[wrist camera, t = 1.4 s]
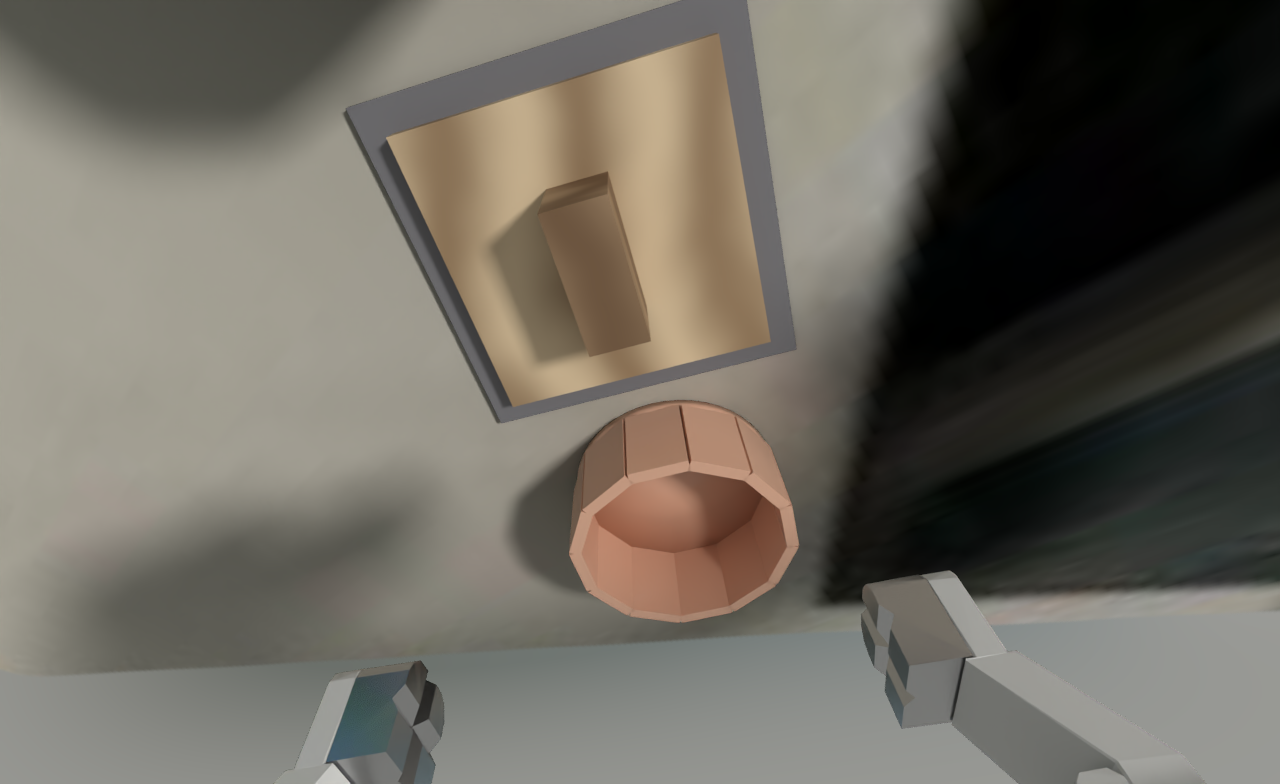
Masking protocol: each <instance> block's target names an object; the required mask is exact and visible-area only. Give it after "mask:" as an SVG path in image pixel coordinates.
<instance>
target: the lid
mask: <svg viewBox="0 0 1280 784" xmlns="http://www.w3.org/2000/svg"><path fill="white" fill-rule="evenodd" d="M386 139H387V141H388V143H389V145H390V147H391V149H392V151H393V154H394V156H395V158H396V160H397V162H398V164H399V166H400V168H401V171H402V173H403V175H404V177H405V179H406V181H407V183H408V185H409V188H410V190H411V192H412V194H413V196H414V198H415V200H416V202H417V204H418V207H419V209H420V211H421V213H422V215H423V217H424V219H425V221H426V224H427V226H428V228H429V230H430V232H431V234H432V236H433V238H434V240H435V243H436V245H437V247H438V249H439V251H440V253H441V255H442V257H443V260H444V262H445V264H446V266H447V268H448V270H449V272H450V274H451V277H452V279H453V281H454V283H455V285H456V287H457V289H458V291H459V293H460V296H461V298H462V300H463V302H464V304H465V306H466V308H467V310H468V313H469V315H470V317H471V319H472V321H473V323H474V325H475V327H476V329H477V332H478V334H479V336H480V338H481V340H482V342H483V344H484V346H485V349H486V351H487V353H488V355H489V357H490V359H491V361H492V363H493V366H494V368H495V370H496V372H497V374H498V376H499V378H500V380H501V382H502V385H503V387H504V389H505V391H506V393H507V395H508V397H509V399H510V402H511V404H512V406H513V407H516V406H519V405H523V404H527V403H531V402H535V401H539V400H543V399H547V398H551V397H555V396H559V395H563V394H567V393H571V392H575V391H579V390H583V389H587V388H591V387H594V386H598V385H602V384H606V383H610V382H614V381H618V380H622V379H626V378H630V377H634V376H638V375H642V374H646V373H650V372H654V371H658V370H662V369H666V368H669V367H673V366H677V365H681V364H685V363H689V362H693V361H697V360H701V359H705V358H709V357H713V356H717V355H721V354H725V353H729V352H733V351H737V350H741V349H745V348H748V347H752V346H756V345H760V344H764V343H768V342H771V340H770V334H769V328H768V322H767V316H766V310H765V304H764V298H763V292H762V286H761V280H760V274H759V268H758V262H757V257H756V251H755V245H754V239H753V233H752V227H751V221H750V215H749V209H748V203H747V197H746V191H745V185H744V179H743V174H742V168H741V162H740V156H739V150H738V144H737V138H736V132H735V126H734V120H733V114H732V108H731V102H730V96H729V90H728V85H727V79H726V73H725V67H724V61H723V55H722V49H721V43H720V37H719V34H718V33H713V34H710V35H707V36H703V37H700V38H697V39H694V40H691V41H687V42H684V43H681V44H678V45H675V46H671V47H668V48H665V49H662V50H659V51H655V52H652V53H649V54H646V55H643V56H639V57H636V58H633V59H630V60H627V61H623V62H620V63H617V64H614V65H611V66H607V67H604V68H601V69H598V70H595V71H591V72H588V73H585V74H582V75H579V76H575V77H572V78H569V79H566V80H563V81H560V82H556V83H553V84H550V85H547V86H544V87H540V88H537V89H534V90H531V91H528V92H524V93H521V94H518V95H515V96H512V97H508V98H505V99H502V100H499V101H496V102H492V103H489V104H486V105H483V106H480V107H476V108H473V109H470V110H467V111H464V112H460V113H457V114H454V115H451V116H448V117H444V118H441V119H438V120H435V121H432V122H428V123H425V124H422V125H419V126H416V127H412V128H409V129H406V130H403V131H400V132H396V133H393V134H391V135H390V136H388V137H386Z"/></svg>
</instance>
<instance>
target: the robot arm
mask: <svg viewBox="0 0 1280 784" xmlns="http://www.w3.org/2000/svg"><path fill="white" fill-rule="evenodd" d="M862 599H863V601H864V603H865V605H866V607H867V608H866V610H865V611H864V612H863V613H862V614H861V627H862V632H863V638H864V642H865V645H866V648H867V651H868V654H869V656H870V659H871V661H872V663H873V666H874V667H875V668H876V669H877V670H879V671H880V672H881V673H883V674H884V675H885V676H886V682H885V693H886V695H887V697H888V700H889V702H890V704H891V706H892V708H893V711H894V713H895V715H896V718H897V720H898V722H899V724H900V726H901V728H902V729H903V728H911V727H918V726H925V725H933V724H941V723H948V722H952V725H953V726H954V727H955V728H956V729H957V730H958V731H959V732H960V733H962V734H963V735H964V736H965V737H966V738H967V739H968V740H970V741H971V742H972V743H973V744H974V745H975V746H976V747H978V748H979V749H980V750H981V751H982V752H983V753H984V754H985V755H987V756H988V757H989V758H990V759H991V760H992V761H993V762H994V763H996V764H997V765H998V766H999V767H1000V768H1001V769H1002V770H1004V771H1005V772H1006V773H1007V774H1008V775H1009V776H1010V777H1012V778H1013V779H1014V780H1015V781H1016V782H1017V783H1018V784H1206V783H1205V782H1204V780H1203V779H1202V778H1201V776H1200V775H1199V774H1198V773H1197V772H1196V770H1195V769H1194V768H1193V767H1192V765H1191V764H1190V763H1189V762H1188V760H1187V759H1186V758H1185V757H1184V755H1183V754H1182V753H1180V752H1178V751H1177V750H1175V749H1173V748H1172V747H1170V746H1169V745H1167V744H1166V743H1164V742H1162V741H1161V740H1159V739H1158V738H1156V737H1154V736H1153V735H1151V734H1149V733H1148V732H1146V731H1145V730H1143V729H1142V728H1140V727H1138V726H1137V725H1135V724H1134V723H1132V722H1130V721H1129V720H1127V719H1126V718H1124V717H1122V716H1121V715H1119V714H1118V713H1116V712H1114V711H1113V710H1111V709H1110V708H1108V707H1106V706H1105V705H1103V704H1102V703H1100V702H1098V701H1097V700H1095V699H1093V698H1092V697H1090V696H1088V695H1087V694H1085V693H1084V692H1082V691H1081V690H1079V689H1077V688H1076V687H1074V686H1073V685H1071V684H1069V683H1067V682H1066V681H1065V680H1063V679H1061V678H1060V677H1058V676H1057V675H1055V674H1053V673H1052V672H1050V671H1048V670H1047V669H1045V668H1044V667H1042V666H1041V665H1039V664H1037V663H1036V662H1034V661H1033V660H1031V659H1029V658H1028V657H1026V656H1025V655H1023V654H1021V653H1020V652H1018V651H1008V652H1007V650H1006V649H1005V647H1004V646H1003V644H1002V643H1001V641H1000V640H999V638H998V637H997V635H996V634H995V632H994V631H993V629H992V628H991V626H990V625H989V623H988V622H987V620H986V619H985V617H984V616H983V614H982V613H981V611H980V610H979V608H978V607H977V605H976V604H975V602H974V601H973V599H972V598H971V596H970V595H969V594H968V592H967V591H966V589H965V588H964V586H963V585H962V583H961V582H960V580H959V579H958V577H957V576H956V575H955V574H954V573H953V572H951V571H941V572H936V573H931V574H925V575H914V576H909V577H903V578H898V579H893V580H887V581H882V582H876V583H871V584H866V585H865V586H864V588H863V593H862ZM427 673H428V670H427V669H426V667H425V666H424V664H423V663H422V662H421V661H414V662H408V663H401V664H394V665H387V666H381V667H374V668H367V669H360V670H354V671H348V672H342V673H337V674H336V675H335V676H334V677H333V678H332V679H331V681H330V682H329V683H328V685H327V688H326V690H325V693H324V695H323V698H322V700H321V703H320V705H319V708H318V710H317V713H316V715H315V718H314V720H313V723H312V725H311V727H310V730H309V733H308V735H307V738H306V740H305V743H304V745H303V747H302V750H301V752H300V755H299V757H298V760H297V762H296V765H295V767H294V769H290V770H286V771H285V772H284V773H283V774H282V775H281V776H280V777H279V778H278V779H277V780H276V781H275V782H274V783H273V784H431V783H432V778H433V774H434V769H435V763H434V761H433V758H432V756H431V755H430V752H431V751H432V749H433V748H434V747H435V746H436V744H437V743H438V742H439V740H440V739H441V736H442V730H443V725H444V702H443V698H442V694H441V692H440V690H439V688H438V687H437V685H435V684H433V683H431V682H429V681H427V680H426V677H427Z"/></svg>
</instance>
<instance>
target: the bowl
mask: <svg viewBox="0 0 1280 784" xmlns="http://www.w3.org/2000/svg"><path fill="white" fill-rule="evenodd" d="M798 545H799V541H798V536H797V530H796V524H795V519H794V513H793V507H792V504H791V501H790V498H789V496H788V493H787V490H786V487H785V485H784V482H783V479H782V476H781V474H780V471H779V468H778V466H777V463H776V460H775V457H774V455H773V452H772V449H771V448H770V445H768V444H767V443H766V442H765V440H764V439H763V437H762V436H761V434H760V433H759V432H758V431H757V430H756V429H755V428H754V427H753V425H752V424H751V423H749V422H748V421H747V420H745V419H744V418H743V417H741V416H739V415H738V414H736V413H734V412H732V411H730V410H728V409H725V408H723V407H720V406H718V405H714V404H710V403H706V402H699V401H692V400H674V401H663V402H658V403H653V404H649V405H645V406H642V407H639V408H636V409H634V410H632V411H629V412H627V413H625V414H623V415H621V416H620V417H618V418H616V419H615V420H613V421H612V422H610V423H609V424H608V425H606V426H605V427H604V428H603V429H602V430H601V431H600V432H599V433H598V434H597V435H596V436H595V437H594V438H593V440H592V441H591V442H590V443H589V445H588V446H587V448H586V450H585V452H584V454H583V456H582V459H581V462H580V464H579V470H578V476H577V481H576V485H575V489H574V494H573V507H572V521H571V534H570V547H569V556H570V558H571V560H572V562H573V564H574V566H575V568H576V570H577V572H578V574H579V576H580V578H581V580H582V582H583V584H584V586H585V588H586V590H587V591H588V593H590V594H592V595H593V596H595V597H597V598H598V599H600V600H602V601H603V602H605V603H607V604H608V605H610V606H612V607H614V608H615V609H617V610H619V611H620V612H622V613H624V614H625V615H629V614H630V617H638V618H645V619H653V620H661V621H668V622H676V623H680V621H682V623H684V622H689V621H694V620H699V619H704V618H708V617H713V616H718V615H723V614H728V613H733V612H732V610H733V611H737V610H738V609H740V608H742V607H743V606H745V605H746V604H748V603H749V602H751V601H753V600H754V599H756V598H757V597H759V596H761V595H762V594H764V593H765V592H767V591H769V590H770V589H772V588H773V587H775V586H776V585H775V584H778V583H779V581H780V579H781V577H782V576H783V574H784V572H785V570H786V569H787V567H788V565H789V564H790V562H791V560H792V558H793V557H794V555H795V553H796V551H797V550H798V548H799V547H798Z"/></svg>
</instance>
